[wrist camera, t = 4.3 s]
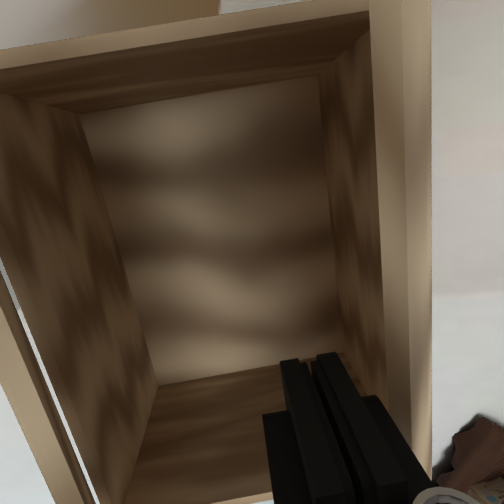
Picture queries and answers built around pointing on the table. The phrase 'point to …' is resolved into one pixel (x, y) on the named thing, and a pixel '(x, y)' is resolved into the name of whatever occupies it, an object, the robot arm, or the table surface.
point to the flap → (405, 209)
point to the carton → (193, 235)
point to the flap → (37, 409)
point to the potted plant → (478, 463)
